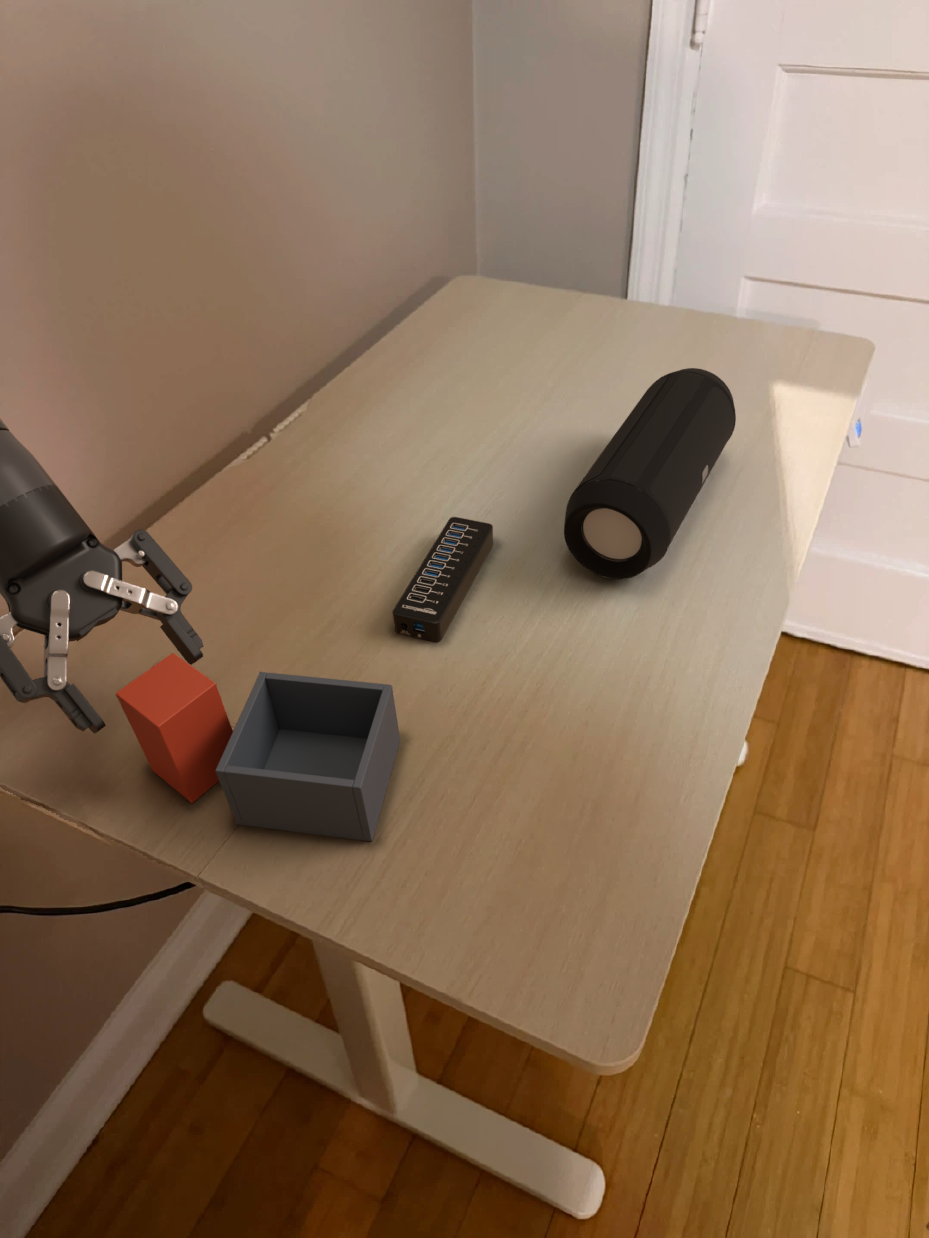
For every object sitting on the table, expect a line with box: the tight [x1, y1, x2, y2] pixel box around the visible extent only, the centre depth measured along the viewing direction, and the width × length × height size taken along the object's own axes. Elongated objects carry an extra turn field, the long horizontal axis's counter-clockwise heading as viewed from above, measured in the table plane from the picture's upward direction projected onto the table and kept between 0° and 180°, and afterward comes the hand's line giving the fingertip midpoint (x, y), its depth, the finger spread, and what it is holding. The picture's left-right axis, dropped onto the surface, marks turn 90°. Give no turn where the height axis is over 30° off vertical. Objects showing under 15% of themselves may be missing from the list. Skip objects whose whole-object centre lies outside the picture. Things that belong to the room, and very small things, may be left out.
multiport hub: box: [392, 516, 494, 643], centre depth 82 cm, size 4×14×2 cm, turn 159°
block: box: [115, 652, 234, 804], centre depth 66 cm, size 5×5×9 cm
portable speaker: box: [563, 367, 737, 580], centre depth 86 cm, size 26×10×10 cm, turn 152°
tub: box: [216, 671, 401, 842], centre depth 65 cm, size 10×9×6 cm
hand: (150, 693), depth 65 cm, fingers open, 8 cm apart
